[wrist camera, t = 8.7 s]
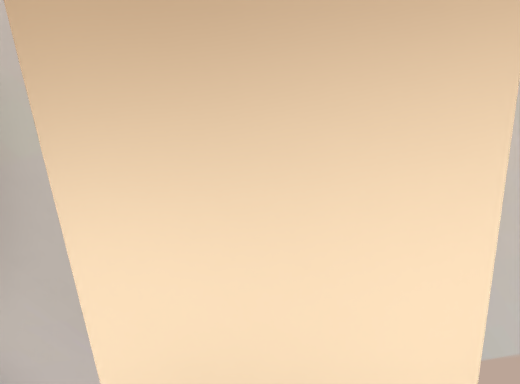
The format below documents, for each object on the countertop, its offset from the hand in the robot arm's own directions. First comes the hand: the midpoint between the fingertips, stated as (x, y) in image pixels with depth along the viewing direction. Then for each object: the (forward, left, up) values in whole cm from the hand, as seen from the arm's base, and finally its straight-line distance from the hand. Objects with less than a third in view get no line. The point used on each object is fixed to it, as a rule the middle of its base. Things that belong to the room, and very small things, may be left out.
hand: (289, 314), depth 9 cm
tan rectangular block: (0, 0, -1) cm, 1 cm away
